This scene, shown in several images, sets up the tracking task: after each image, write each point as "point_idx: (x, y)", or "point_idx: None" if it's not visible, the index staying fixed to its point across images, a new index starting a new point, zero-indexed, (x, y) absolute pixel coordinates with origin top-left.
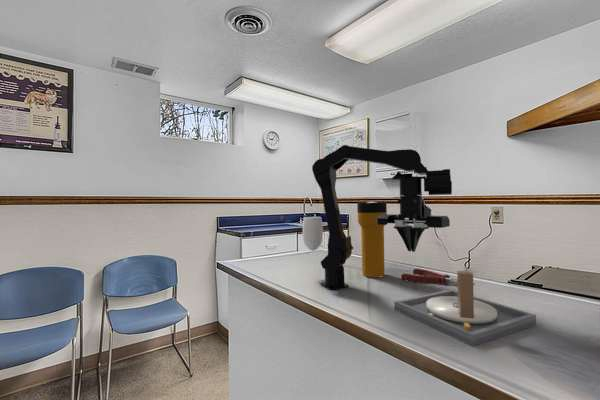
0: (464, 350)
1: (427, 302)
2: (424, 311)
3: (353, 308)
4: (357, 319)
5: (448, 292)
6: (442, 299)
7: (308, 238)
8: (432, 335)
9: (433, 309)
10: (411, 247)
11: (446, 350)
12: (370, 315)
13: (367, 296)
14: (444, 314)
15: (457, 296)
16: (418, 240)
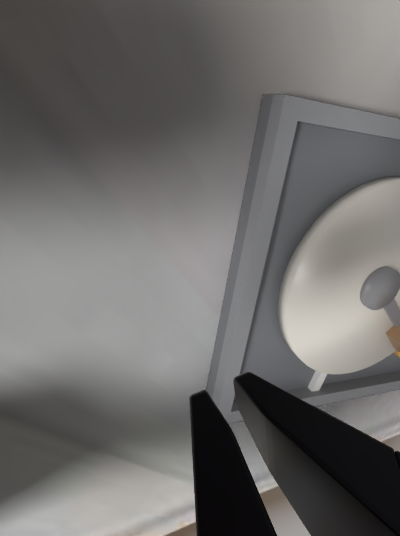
0: (394, 392)
1: (298, 349)
2: (293, 364)
3: (118, 503)
4: (188, 509)
5: (288, 150)
6: (320, 283)
7: None
8: (339, 405)
9: (333, 372)
10: (268, 459)
11: (373, 417)
12: (189, 476)
13: (31, 427)
14: (362, 368)
15: (311, 125)
16: (385, 455)
